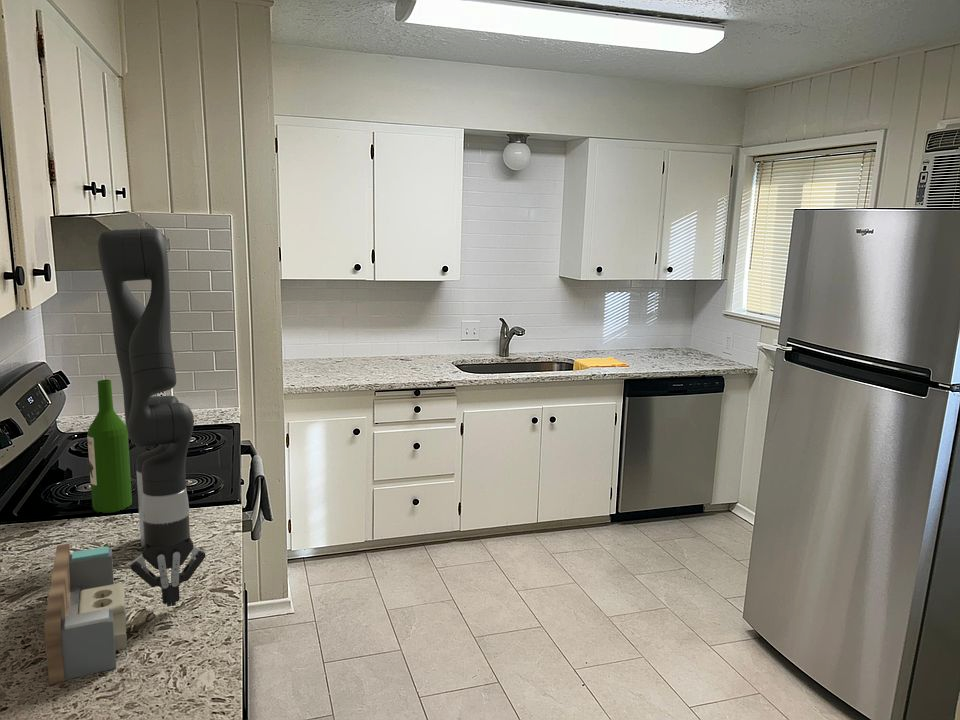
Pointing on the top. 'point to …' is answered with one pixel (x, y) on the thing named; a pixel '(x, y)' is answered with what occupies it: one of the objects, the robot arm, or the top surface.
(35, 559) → the top surface
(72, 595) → the metal rail
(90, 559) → the module
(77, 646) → the block
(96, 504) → the wine bottle
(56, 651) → the mounting panel
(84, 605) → the electrical outlet
